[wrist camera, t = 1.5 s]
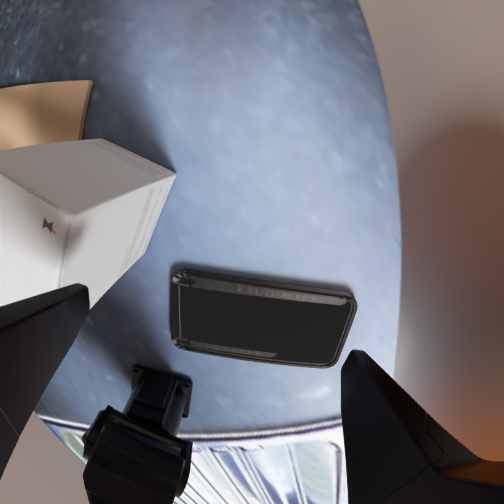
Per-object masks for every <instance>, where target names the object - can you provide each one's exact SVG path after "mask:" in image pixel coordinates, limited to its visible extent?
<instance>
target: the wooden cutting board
mask: <svg viewBox="0 0 504 504" xmlns="http://www.w3.org/2000/svg"><path fill="white" fill-rule="evenodd" d="M92 84H93V81H90V80H79V81H60V82H48V83H38V84H29V85H21V86H14V87H8V88H2V89H0V151H1V150H6V149H12V148H18V147H24V146H31V145H38V144H46V143H55V142H64V141H74V140H82V136H83V129H84V123H85V118H86V112H87V107H88V102H89V97H90V93H91V88H92Z"/></svg>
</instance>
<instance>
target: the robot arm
mask: <svg viewBox="0 0 504 504" xmlns="http://www.w3.org/2000/svg"><path fill="white" fill-rule="evenodd" d="M89 310H90V299H89V289H88V287H87V286H86V285H83V284H80V283H75V284H72V285H68V286H65V287H62V288H59V289H55V290H52V291H49V292H45V293H42V294H39V295H36V296H32V297H29V298H26V299H23V300H19V301H16V302H13V303H10V304H7V305H3V306H0V479H1V477H2V475H3V472H4V470H5V468H6V465H7V463H8V461H9V459H10V456H11V454H12V452H13V450H14V448H15V446H16V444H17V442H18V439H19V436H20V435H21V433H22V431H23V429H24V427H25V425H26V423H27V421H28V419H29V418H30V416H31V414H32V412H33V410H34V408H35V406H36V405H37V403H38V401H39V399H40V397H41V396H42V394H43V392H44V390H45V389H46V387H47V385H48V383H49V382H50V380H51V378H52V377H53V375H54V373H55V372H56V370H57V368H58V367H59V365H60V364H61V362H62V360H63V359H64V357H65V355H66V354H67V352H68V351H69V349H70V347H71V346H72V344H73V342H74V340H75V338H76V336H77V334H78V332H79V330H80V328H81V326H82V325H83V323H84V321H85V319H86V317H87V315H88V313H89ZM187 384H188V385H187ZM132 385H133V391H132V393H131V396H130V398H129V400H128V402H127V404H126V406H125V408H124V410H123V412H122V413H121V412H119V411H117V410H115V409H113V407H111V406H109V405H108V406H107V408H106V409H105V410H103V411H100V412H99V413H98V415H97V417H96V419H95V421H94V422H93V424H92V425H91V426H90V427H89V429H88V430H87V431H86V432H85V433H84V435H83V437H82V441H83V443H84V453H83V457H84V458H86V459H88V462H87V465H86V467H85V470H84V472H83V479H84V484H85V489H86V492H87V496H88V499H89V503H90V504H173V501H174V498H175V496H176V497H180V496H181V494H182V493H183V491H184V489H185V487H186V484H187V481H188V478H189V473H190V466H191V455H192V445H193V442H191V441H188V440H187V441H186V440H183V439H180V438H178V437H176V435H177V431H178V428H179V425H180V421H181V418H182V417H183V418H187V417H188V414H189V407H190V400H191V393H192V386H193V383H192V382H191V381H190V380H187V379H183V378H179V377H176V376H172V375H168V374H165V373H161V372H158V371H155V370H151V369H148V368H145V367H142V366H139V365H133V367H132ZM341 416H342V426H343V436H344V446H345V458H346V472H347V488H348V504H504V461H489V460H485V459H482V458H480V457H478V456H476V455H475V454H474V453H472V452H471V451H470V450H469V449H468V448H466V447H465V446H464V445H463V444H461V443H460V442H459V441H458V440H457V439H455V438H454V437H453V436H452V435H451V434H449V433H448V432H447V431H446V430H445V429H444V428H443V427H442V426H440V425H439V424H438V423H437V422H436V421H435V420H434V419H433V418H432V417H431V416H430V415H429V414H428V413H427V414H426V411H425V410H424V409H423V408H422V407H421V406H420V405H419V404H418V403H417V402H416V401H415V400H414V399H413V398H412V397H411V396H410V395H409V394H408V393H407V392H406V391H405V390H404V389H403V388H401V386H399V385H398V384H397V383H396V382H395V381H394V380H393V379H392V378H391V377H390V376H389V375H388V374H387V373H386V372H385V371H384V370H383V369H382V368H381V367H380V366H379V365H378V364H377V363H376V362H375V361H374V360H373V359H372V358H371V357H370V356H369V355H368V354H367V353H366V352H365V351H362V350H355V349H354V350H352V351H351V352H350V353H349V355H348V357H347V359H346V361H345V363H344V364H343V366H342V369H341Z"/></svg>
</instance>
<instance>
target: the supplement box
mask: <svg viewBox="0 0 504 504" xmlns="http://www.w3.org/2000/svg"><path fill="white" fill-rule="evenodd" d="M176 175H177V174H176V173H174V172H172V171H170V170H168V169H166V168H164V167H162V166H160V165H158V164H156V163H154V162H152V161H150V160H148V159H146V158H143V157H141V156H139V155H137V154H135V153H133V152H130V151H128V150H126V149H124V148H122V147H120V146H117V145H115V144H113V143H111V142H109V141H107V140H104V139H101V138H100V139H86V140H74V141H64V142H55V143H46V144H38V145H31V146H24V147H18V148H12V149H6V150H1V151H0V306H3V305H7V304H10V303H13V302H16V301H19V300H23V299H26V298H29V297H32V296H36V295H39V294H42V293H45V292H49V291H52V290H55V289H59V288H62V287H65V286H68V285H72V284H75V283H80V284H83V285H86V286H87V287H88V289H89V299H90V309H91V308H92V307H93V306H94V304H95V303H96V302H97V301H98V300H99V299H100V298H101V297H102V296H103V295H104V294H105V293H106V291H107V290H108V289H109V288H110V287H111V286H112V285H113V284H114V283H115V282H116V281H117V280H118V279H119V278H120V277H121V276H122V275H123V274H124V273H125V272H126V271H127V270H128V269H129V268H130V267H131V266H132V265H133V264H134V263H135V262H136V261H137V260H138V259H139V258H140V257H141V256H142V255H143V254H144V253H145V251H146V248H147V246H148V243H149V241H150V238H151V236H152V233H153V231H154V228H155V225H156V223H157V220H158V218H159V215H160V213H161V210H162V208H163V205H164V203H165V201H166V198H167V196H168V193H169V191H170V189H171V186H172V184H173V182H174V179H175V177H176Z"/></svg>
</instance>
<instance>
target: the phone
mask: <svg viewBox="0 0 504 504" xmlns="http://www.w3.org/2000/svg"><path fill="white" fill-rule="evenodd" d="M356 311H357V302H356V300H355V298H354V296H353V295H352V294H351V293H349V292H346V291H338V290H330V289H322V288H315V287H307V286H300V285H293V284H285V283H278V282H271V281H264V280H257V279H250V278H244V277H237V276H230V275H224V274H217V273H211V272H205V271H198V270H192V269H182V270H179V271H178V272H177V273H176V274H175V276H174V277H173V279H172V282H171V339H172V342H173V343H174V345H175V346H176V347H178V348H180V349H182V350H187V351H192V352H197V353H202V354H208V355H214V356H220V357H226V358H233V359H239V360H246V361H254V362H261V363H269V364H278V365H288V366H298V367H309V368H322V369H323V368H329V367H332V366H334V365H335V364H336V363H337V361H338V359H339V357H340V354H341V352H342V349H343V347H344V344H345V341H346V339H347V336H348V333H349V331H350V328H351V325H352V323H353V320H354V317H355V314H356Z"/></svg>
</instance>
